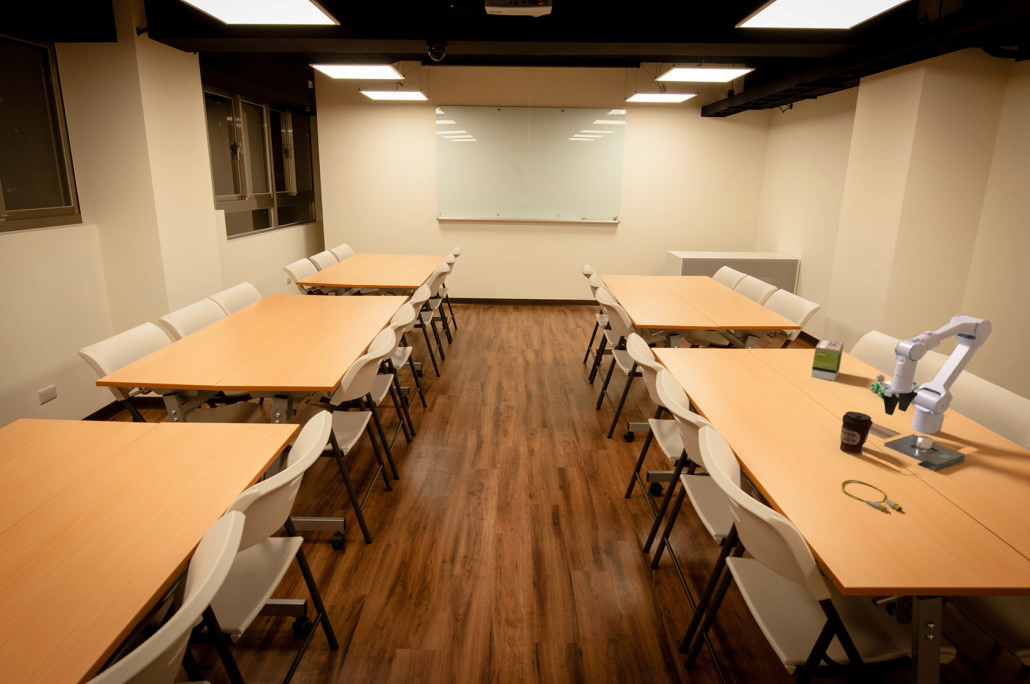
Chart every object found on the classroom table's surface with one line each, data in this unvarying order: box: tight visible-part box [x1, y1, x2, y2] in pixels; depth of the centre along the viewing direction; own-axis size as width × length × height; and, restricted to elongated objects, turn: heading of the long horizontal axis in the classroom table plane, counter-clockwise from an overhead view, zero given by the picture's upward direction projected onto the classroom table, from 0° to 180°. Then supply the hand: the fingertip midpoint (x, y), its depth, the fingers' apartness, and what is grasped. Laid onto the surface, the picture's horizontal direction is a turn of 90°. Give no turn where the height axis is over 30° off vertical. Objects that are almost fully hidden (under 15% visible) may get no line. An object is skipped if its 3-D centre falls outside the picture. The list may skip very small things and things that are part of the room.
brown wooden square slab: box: [869, 422, 902, 440], centre depth 196 cm, size 10×10×2 cm
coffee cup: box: [839, 411, 874, 456], centre depth 182 cm, size 9×8×13 cm
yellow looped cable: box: [841, 479, 903, 513], centre depth 158 cm, size 12×16×2 cm
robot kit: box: [870, 373, 920, 399], centre depth 228 cm, size 19×25×9 cm
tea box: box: [810, 339, 844, 382], centre depth 255 cm, size 15×10×15 cm, turn 144°
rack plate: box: [883, 433, 966, 473], centre depth 181 cm, size 16×16×3 cm
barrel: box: [914, 435, 934, 454], centre depth 181 cm, size 4×4×6 cm
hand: (895, 412), depth 192 cm, fingers open, 7 cm apart
